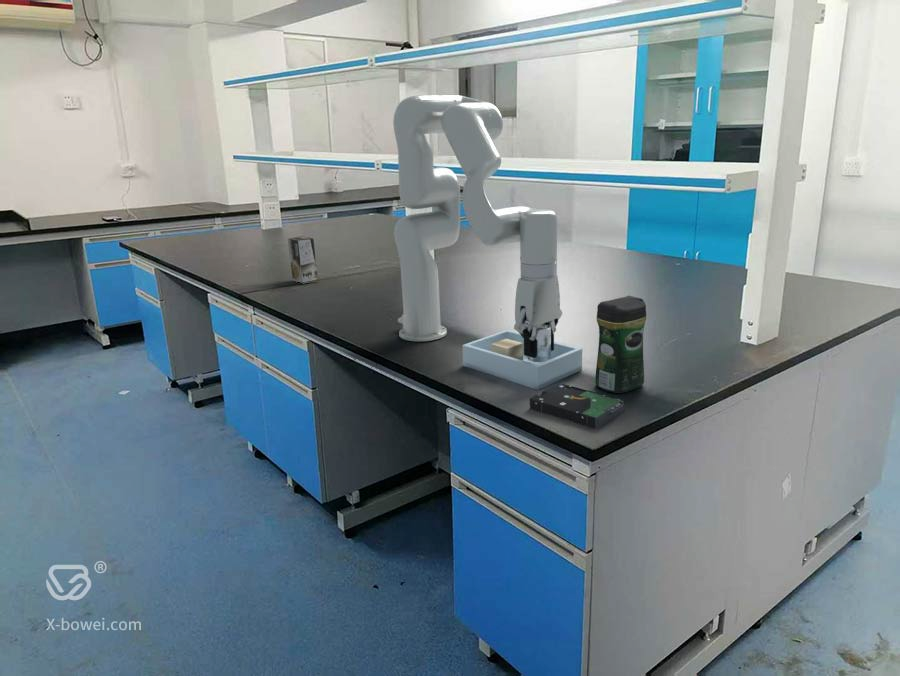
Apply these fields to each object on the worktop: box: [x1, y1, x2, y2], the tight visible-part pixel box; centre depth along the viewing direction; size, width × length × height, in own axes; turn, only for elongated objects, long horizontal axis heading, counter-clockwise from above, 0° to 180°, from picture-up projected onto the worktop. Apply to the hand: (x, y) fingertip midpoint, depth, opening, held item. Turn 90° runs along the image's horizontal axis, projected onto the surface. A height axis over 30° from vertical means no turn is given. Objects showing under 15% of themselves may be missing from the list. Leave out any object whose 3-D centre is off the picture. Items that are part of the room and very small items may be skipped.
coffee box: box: [287, 235, 319, 282], centre depth 240 cm, size 9×6×16 cm
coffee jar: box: [594, 295, 647, 394], centre depth 132 cm, size 10×8×19 cm
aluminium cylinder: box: [528, 324, 551, 362], centre depth 141 cm, size 5×5×7 cm
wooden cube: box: [491, 339, 523, 360], centre depth 145 cm, size 5×5×5 cm
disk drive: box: [529, 382, 625, 430], centre depth 124 cm, size 10×3×15 cm
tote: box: [461, 329, 583, 391], centre depth 146 cm, size 22×15×5 cm
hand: (538, 352), depth 142 cm, fingers closed on aluminium cylinder, 5 cm apart
